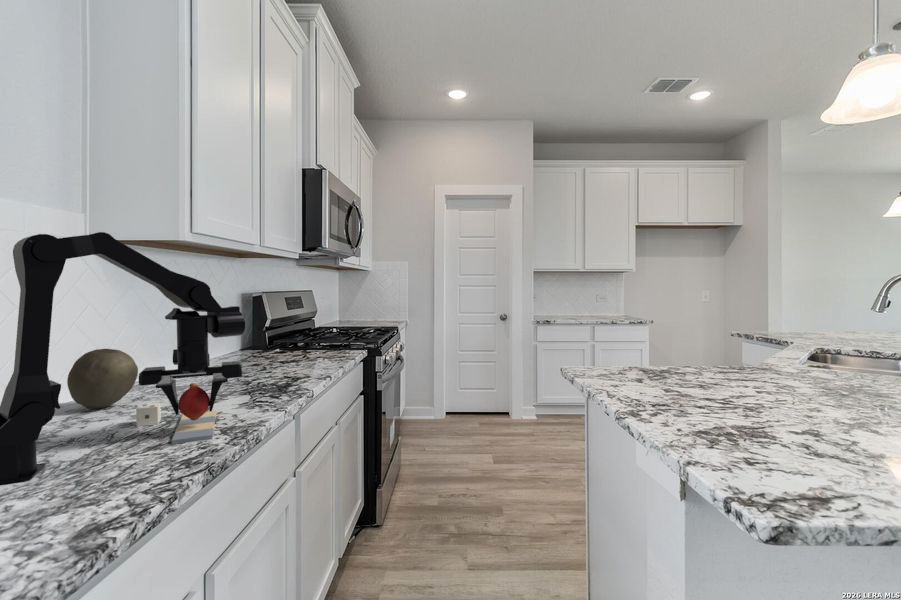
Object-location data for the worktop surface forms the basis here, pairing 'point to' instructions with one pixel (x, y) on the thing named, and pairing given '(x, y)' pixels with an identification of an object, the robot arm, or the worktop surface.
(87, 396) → the cantaloupe
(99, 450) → the worktop surface
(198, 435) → the track
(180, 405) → the onion
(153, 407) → the die
